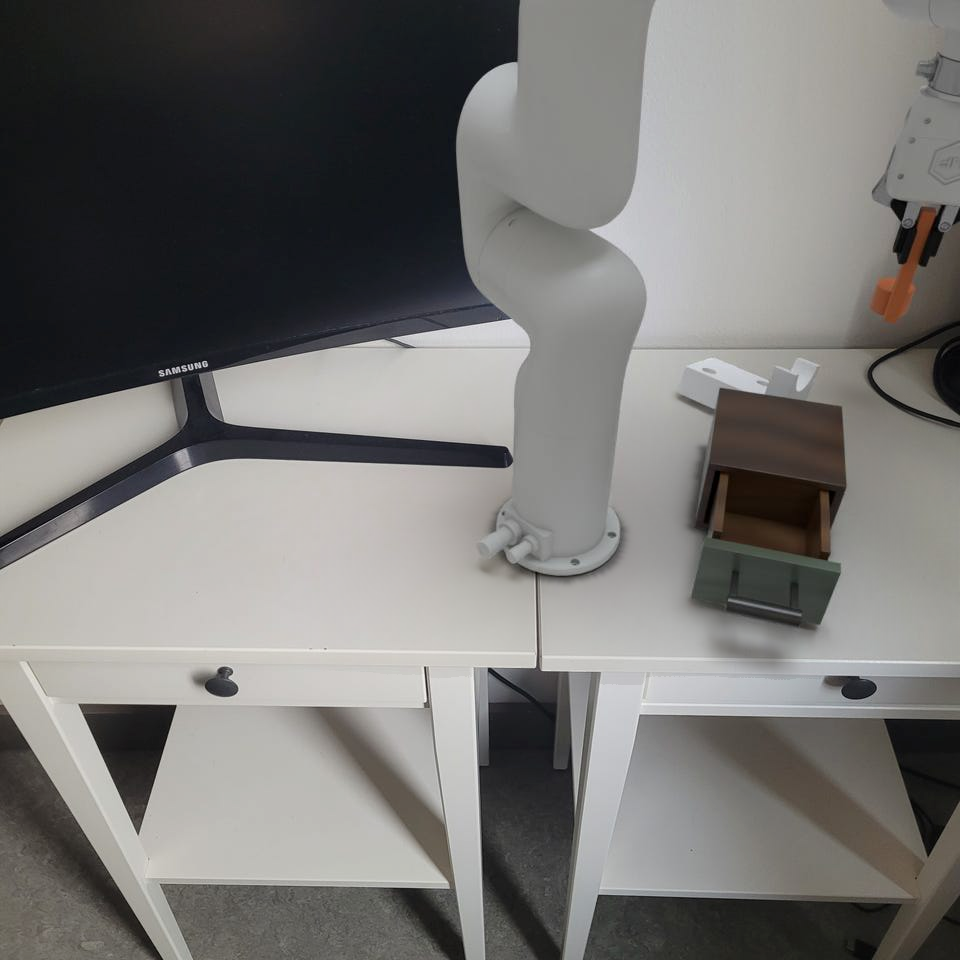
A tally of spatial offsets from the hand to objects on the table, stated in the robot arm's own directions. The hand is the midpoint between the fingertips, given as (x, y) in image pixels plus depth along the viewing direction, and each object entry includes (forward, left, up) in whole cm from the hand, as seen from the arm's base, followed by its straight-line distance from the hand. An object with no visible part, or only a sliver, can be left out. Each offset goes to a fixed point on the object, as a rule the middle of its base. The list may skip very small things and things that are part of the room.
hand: (911, 259), depth 89 cm
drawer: (-36, -8, -18) cm, 41 cm away
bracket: (-11, +10, -19) cm, 24 cm away
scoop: (+1, +1, -7) cm, 8 cm away
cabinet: (-24, -1, -19) cm, 31 cm away
